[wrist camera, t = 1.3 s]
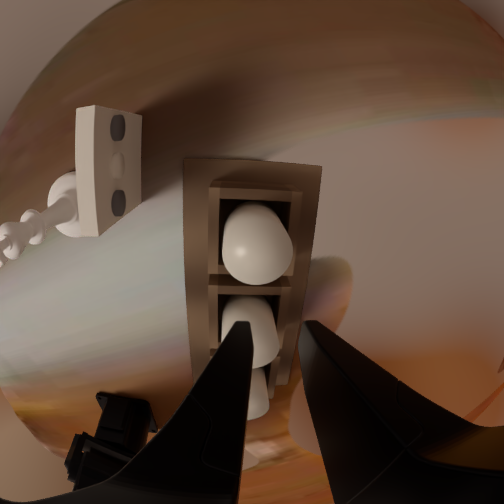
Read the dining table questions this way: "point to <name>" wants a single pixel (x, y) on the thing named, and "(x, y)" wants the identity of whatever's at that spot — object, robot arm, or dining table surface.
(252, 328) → the button middle
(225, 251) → the white oval piece
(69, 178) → the chess piece
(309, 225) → the brown button tray
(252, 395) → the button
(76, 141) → the card
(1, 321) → the dining table surface
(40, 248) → the dining table surface
